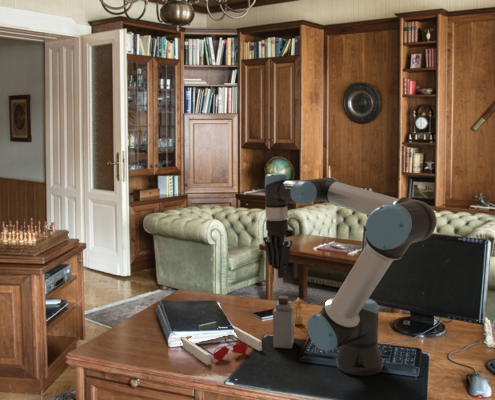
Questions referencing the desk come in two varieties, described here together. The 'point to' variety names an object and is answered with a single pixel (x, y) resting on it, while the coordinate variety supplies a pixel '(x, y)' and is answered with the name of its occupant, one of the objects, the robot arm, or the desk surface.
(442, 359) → the desk surface
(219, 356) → the glasses
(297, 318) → the figurine
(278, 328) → the perfume bottle
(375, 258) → the robot arm
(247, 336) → the display cradle
